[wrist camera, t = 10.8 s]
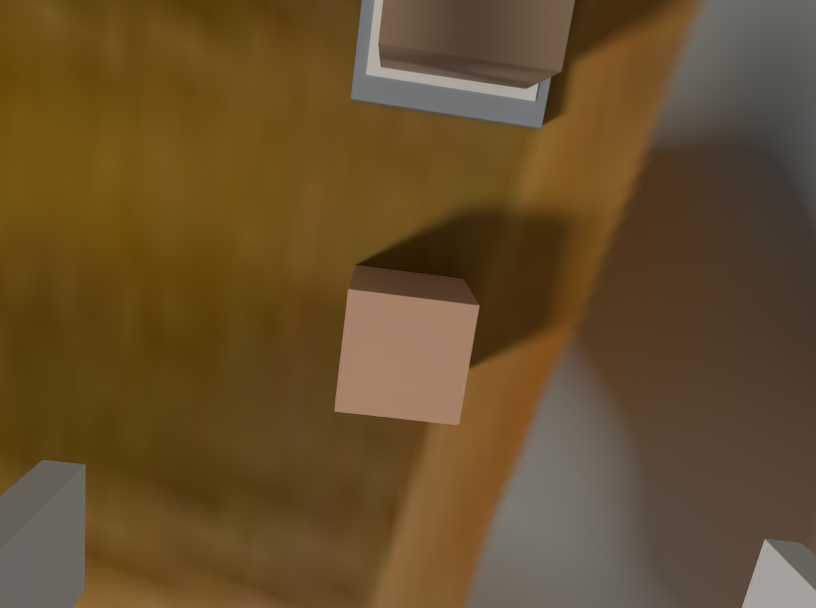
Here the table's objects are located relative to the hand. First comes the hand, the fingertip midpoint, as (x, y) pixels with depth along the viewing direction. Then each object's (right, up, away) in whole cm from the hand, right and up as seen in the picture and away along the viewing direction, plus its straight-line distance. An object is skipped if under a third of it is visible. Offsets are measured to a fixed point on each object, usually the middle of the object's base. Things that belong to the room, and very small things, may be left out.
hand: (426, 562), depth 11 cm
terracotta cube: (-1, +4, +16) cm, 17 cm away
